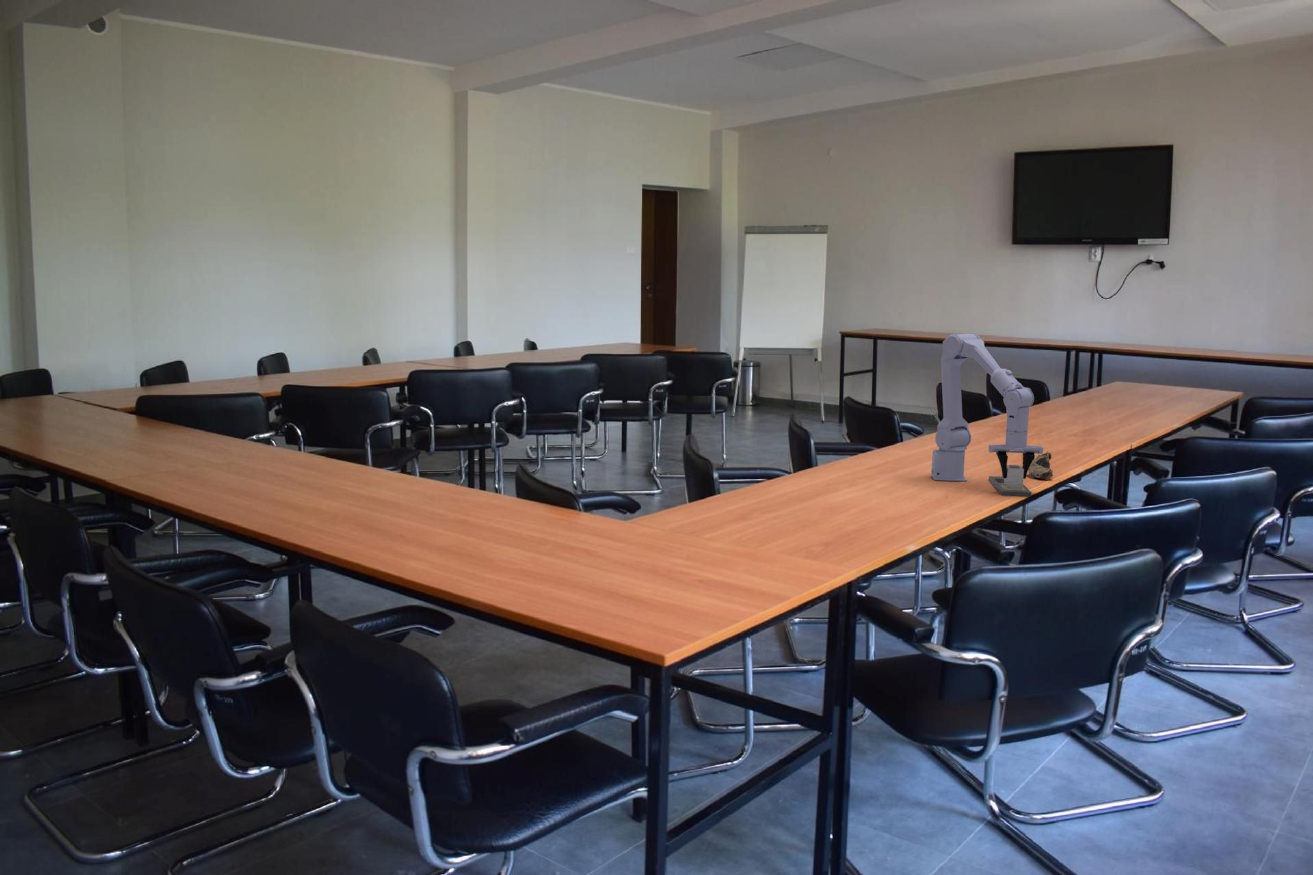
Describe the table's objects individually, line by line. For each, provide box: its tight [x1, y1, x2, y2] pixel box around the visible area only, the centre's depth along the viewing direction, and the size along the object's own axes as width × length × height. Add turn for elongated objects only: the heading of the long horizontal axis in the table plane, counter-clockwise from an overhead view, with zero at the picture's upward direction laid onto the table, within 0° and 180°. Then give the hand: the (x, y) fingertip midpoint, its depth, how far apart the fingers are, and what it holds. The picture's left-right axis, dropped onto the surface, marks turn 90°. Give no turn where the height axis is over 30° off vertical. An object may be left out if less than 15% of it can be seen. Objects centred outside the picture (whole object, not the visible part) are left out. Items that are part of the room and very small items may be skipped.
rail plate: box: [988, 475, 1032, 498], centre depth 302 cm, size 8×22×1 cm, turn 172°
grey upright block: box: [1003, 464, 1024, 490], centre depth 296 cm, size 4×4×6 cm
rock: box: [1027, 451, 1054, 481], centre depth 318 cm, size 9×7×10 cm
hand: (1013, 477), depth 296 cm, fingers open, 5 cm apart
